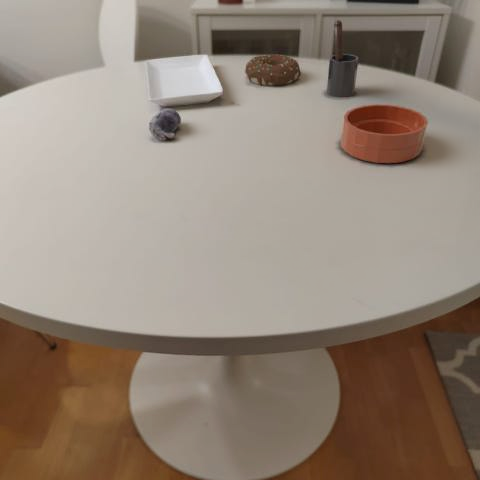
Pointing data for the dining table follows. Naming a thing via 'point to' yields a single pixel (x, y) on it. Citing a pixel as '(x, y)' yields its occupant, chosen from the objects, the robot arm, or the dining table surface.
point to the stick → (338, 41)
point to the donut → (272, 70)
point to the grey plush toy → (164, 124)
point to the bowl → (383, 133)
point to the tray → (182, 80)
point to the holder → (342, 76)
